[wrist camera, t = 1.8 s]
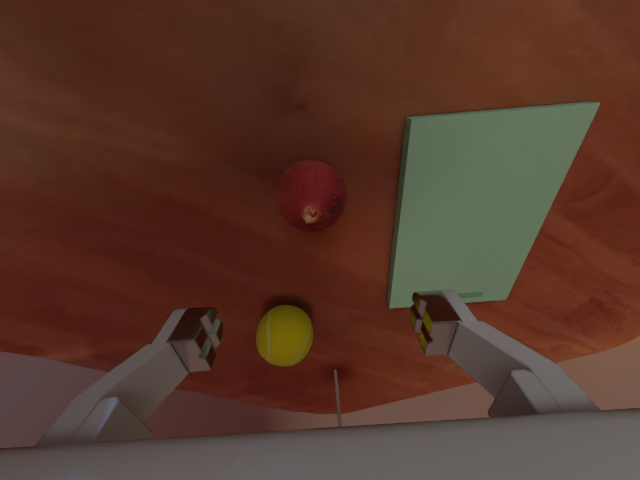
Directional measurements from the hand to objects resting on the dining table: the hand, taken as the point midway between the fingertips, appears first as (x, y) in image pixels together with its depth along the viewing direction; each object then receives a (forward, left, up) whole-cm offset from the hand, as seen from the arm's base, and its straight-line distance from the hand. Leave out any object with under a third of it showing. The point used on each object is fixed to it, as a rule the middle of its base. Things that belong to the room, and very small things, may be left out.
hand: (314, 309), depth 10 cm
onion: (0, 0, -16) cm, 16 cm away
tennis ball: (+18, -5, -16) cm, 24 cm away
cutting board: (+6, +16, -16) cm, 23 cm away
